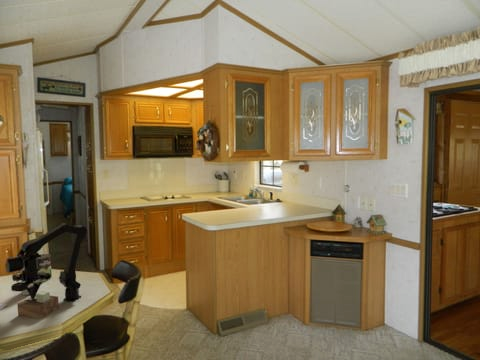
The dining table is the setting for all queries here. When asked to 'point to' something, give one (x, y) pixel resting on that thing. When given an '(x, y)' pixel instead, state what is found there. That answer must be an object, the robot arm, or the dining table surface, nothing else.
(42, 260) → the coffee can
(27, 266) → the robot arm
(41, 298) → the sage peg
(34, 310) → the walnut block
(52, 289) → the dining table surface
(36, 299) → the steel peg
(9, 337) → the dining table surface
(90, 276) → the dining table surface
